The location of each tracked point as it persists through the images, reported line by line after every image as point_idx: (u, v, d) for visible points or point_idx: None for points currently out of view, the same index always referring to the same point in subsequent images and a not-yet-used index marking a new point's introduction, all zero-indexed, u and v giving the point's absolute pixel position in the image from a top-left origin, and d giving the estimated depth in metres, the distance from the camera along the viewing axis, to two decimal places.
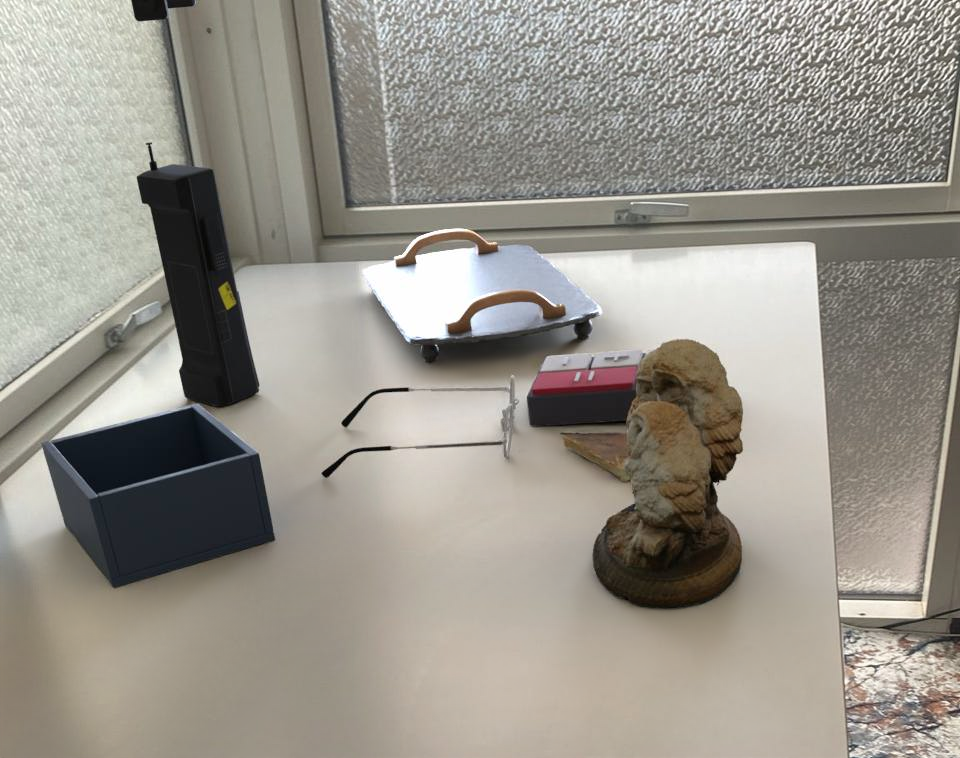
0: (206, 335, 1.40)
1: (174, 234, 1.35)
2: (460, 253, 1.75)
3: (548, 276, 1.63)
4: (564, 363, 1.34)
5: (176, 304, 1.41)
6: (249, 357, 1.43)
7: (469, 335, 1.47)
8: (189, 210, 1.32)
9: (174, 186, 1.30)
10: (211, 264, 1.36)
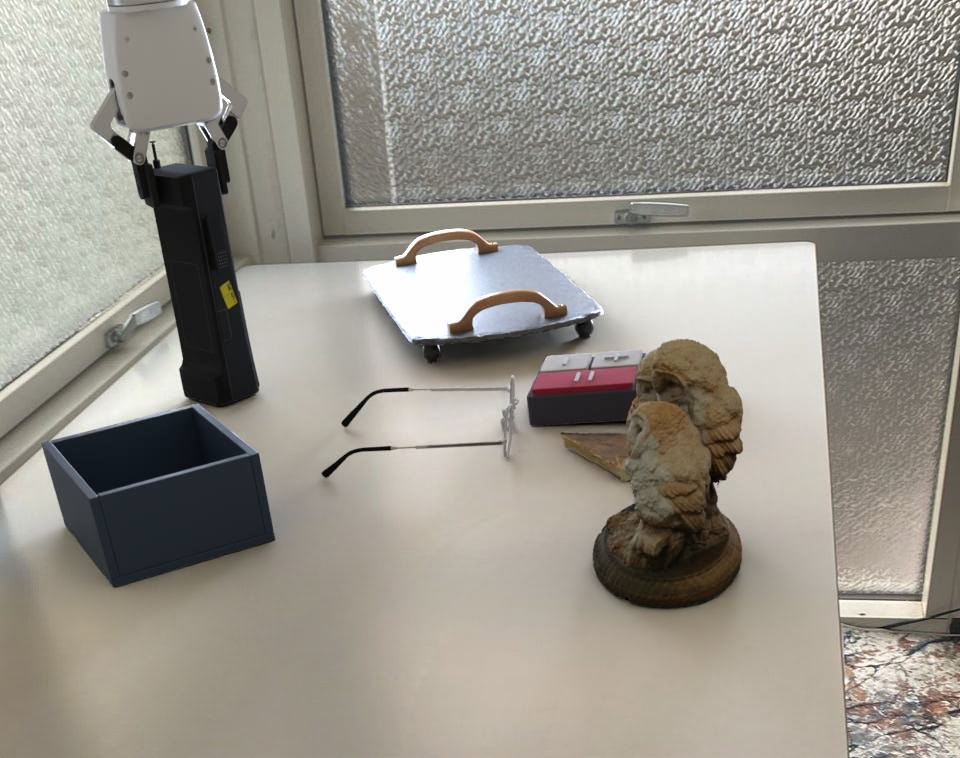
0: (207, 334, 1.40)
1: (176, 232, 1.36)
2: (460, 253, 1.75)
3: (549, 276, 1.63)
4: (564, 363, 1.34)
5: (177, 302, 1.41)
6: (249, 357, 1.44)
7: (471, 335, 1.47)
8: (192, 208, 1.32)
9: (177, 184, 1.30)
10: (212, 262, 1.36)
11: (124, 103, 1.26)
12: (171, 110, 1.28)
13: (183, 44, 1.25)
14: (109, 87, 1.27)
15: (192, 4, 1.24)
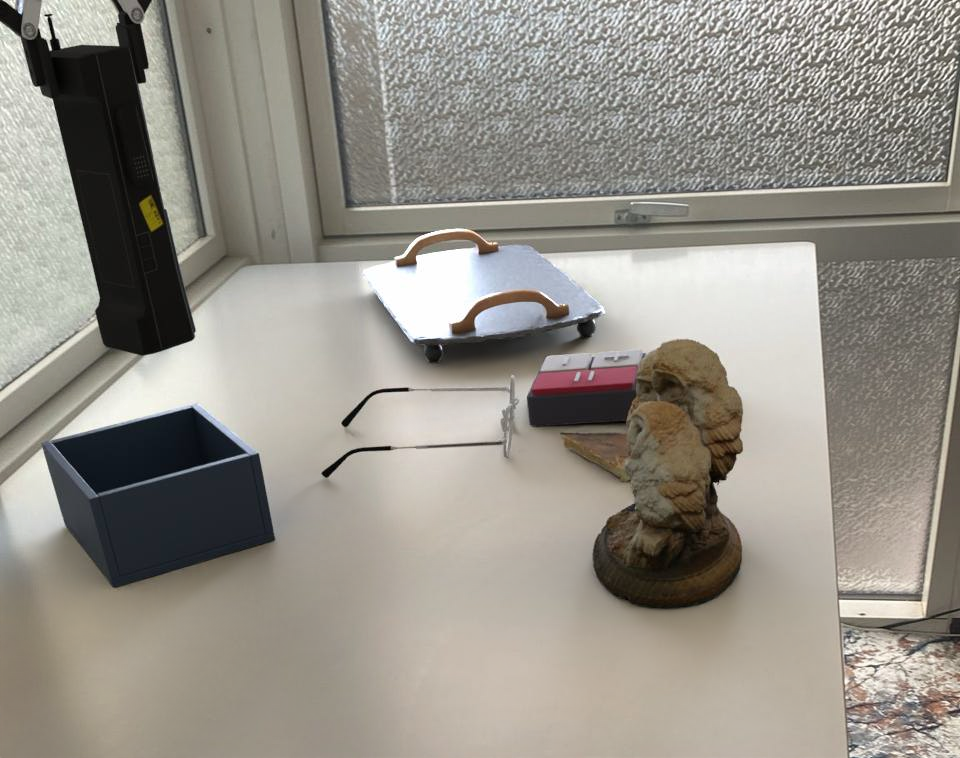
0: (126, 264, 1.12)
1: (82, 132, 1.07)
2: (460, 253, 1.75)
3: (550, 276, 1.63)
4: (564, 363, 1.34)
5: (89, 225, 1.13)
6: (181, 294, 1.15)
7: (473, 335, 1.47)
8: (99, 98, 1.04)
9: (77, 66, 1.02)
10: (128, 171, 1.07)
11: None
12: None
13: None
14: None
15: None
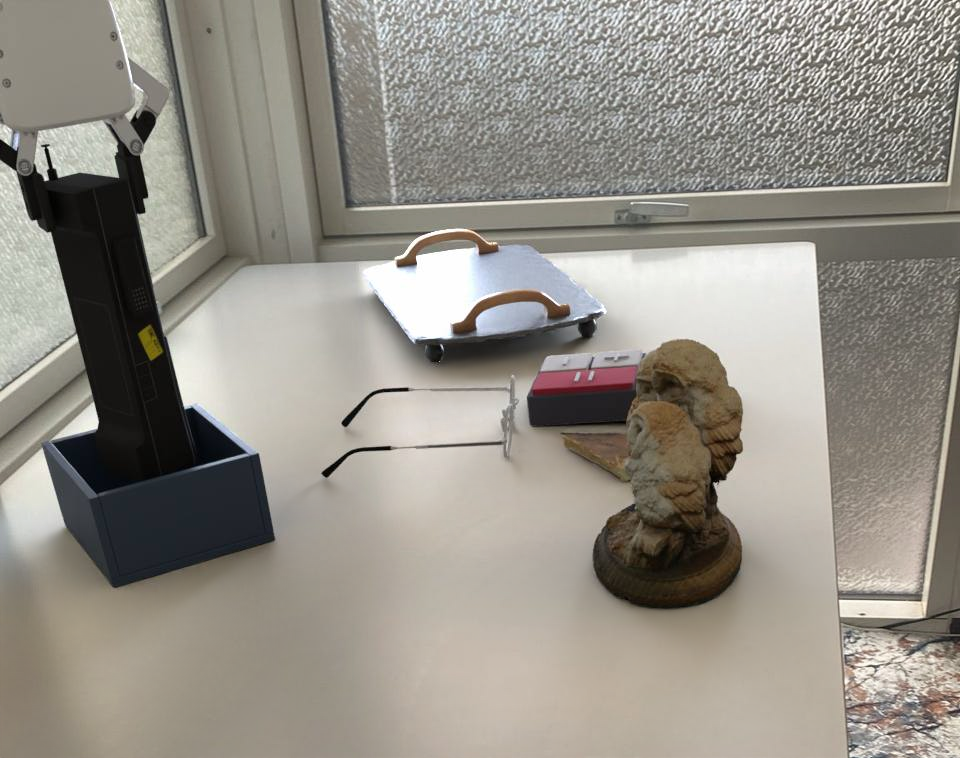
0: (124, 393, 1.09)
1: (79, 263, 1.04)
2: (460, 253, 1.75)
3: (550, 276, 1.63)
4: (564, 363, 1.34)
5: (88, 352, 1.10)
6: (182, 420, 1.12)
7: (474, 335, 1.47)
8: (96, 233, 1.01)
9: (74, 202, 0.99)
10: (127, 302, 1.04)
11: None
12: (64, 103, 0.96)
13: (78, 14, 0.93)
14: None
15: None
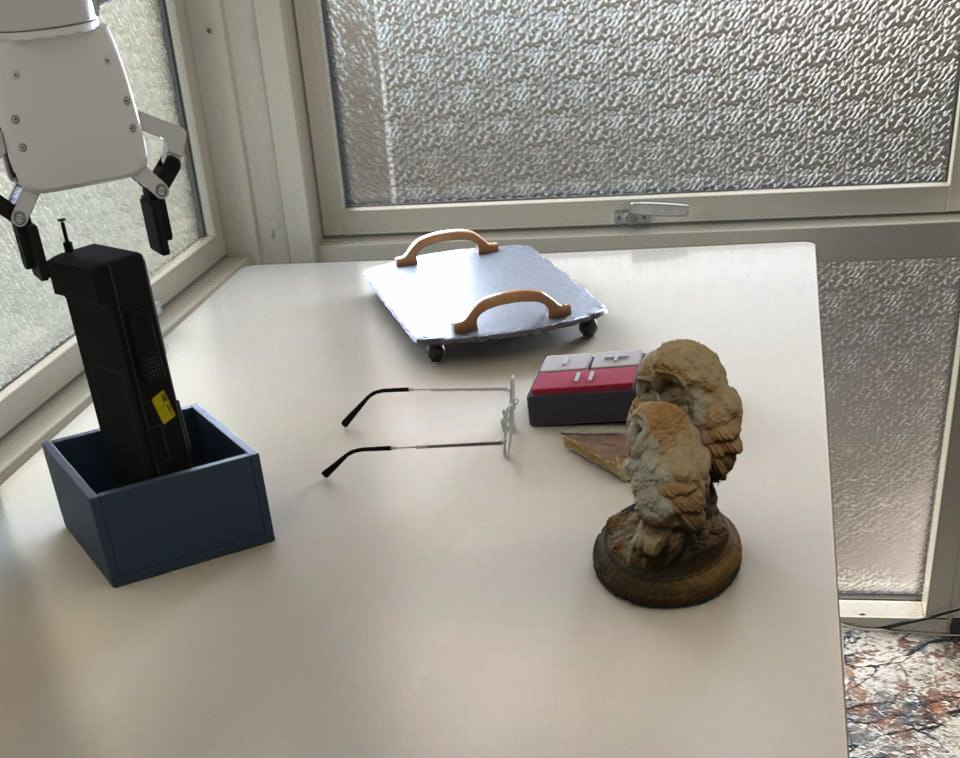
0: (138, 455, 1.12)
1: (95, 332, 1.07)
2: (460, 253, 1.75)
3: (551, 276, 1.63)
4: (564, 363, 1.34)
5: (102, 414, 1.13)
6: None
7: (476, 335, 1.47)
8: (111, 305, 1.04)
9: (90, 277, 1.02)
10: (141, 370, 1.07)
11: (15, 157, 0.97)
12: (79, 165, 0.99)
13: (92, 81, 0.96)
14: None
15: (103, 29, 0.95)
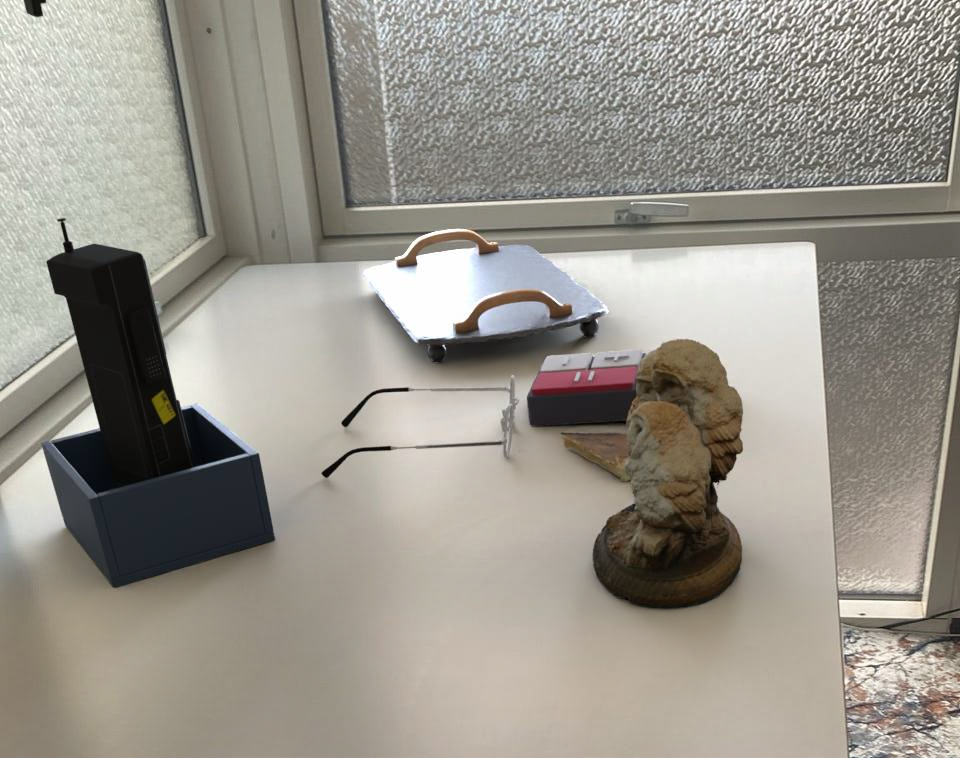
0: (138, 455, 1.12)
1: (95, 332, 1.07)
2: (460, 253, 1.75)
3: (551, 276, 1.63)
4: (564, 363, 1.34)
5: (102, 414, 1.13)
6: None
7: (477, 335, 1.47)
8: (111, 305, 1.04)
9: (90, 277, 1.02)
10: (141, 370, 1.07)
11: None
12: None
13: None
14: None
15: None
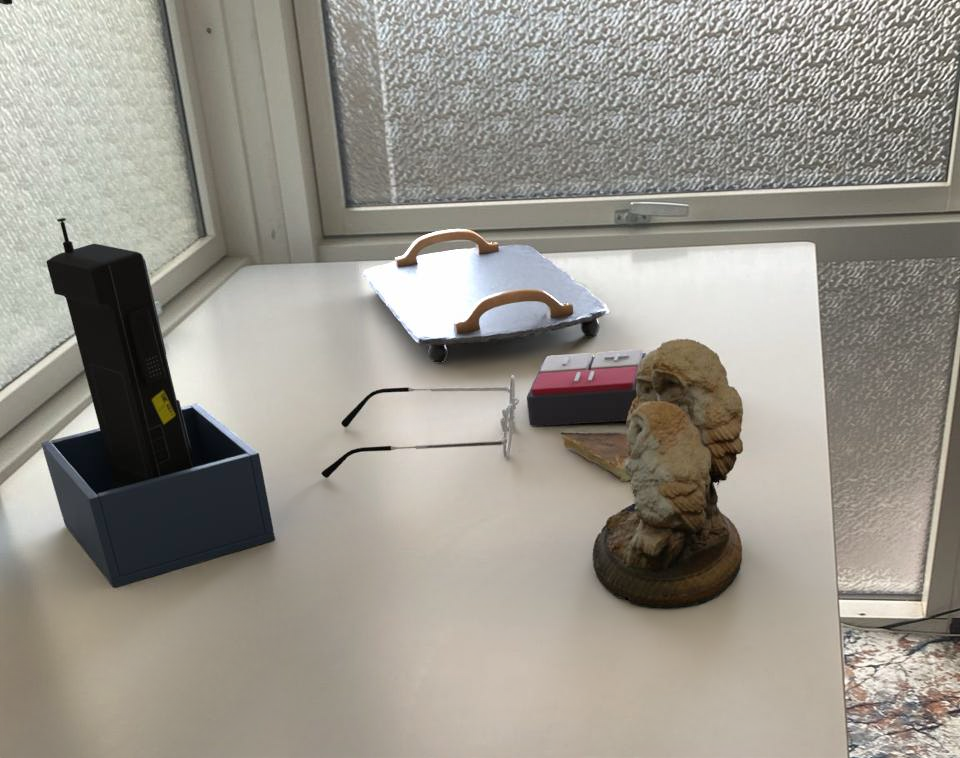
0: (138, 455, 1.12)
1: (95, 332, 1.07)
2: (460, 253, 1.75)
3: (552, 275, 1.63)
4: (564, 363, 1.34)
5: (102, 414, 1.13)
6: None
7: (478, 335, 1.47)
8: (111, 305, 1.04)
9: (90, 277, 1.02)
10: (141, 370, 1.07)
11: None
12: None
13: None
14: None
15: None
